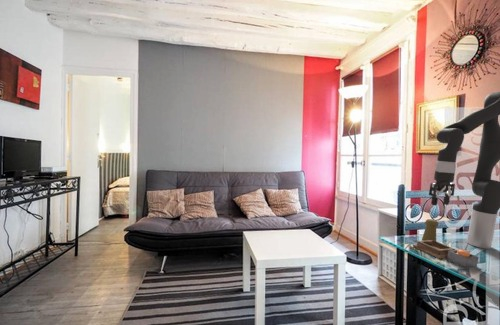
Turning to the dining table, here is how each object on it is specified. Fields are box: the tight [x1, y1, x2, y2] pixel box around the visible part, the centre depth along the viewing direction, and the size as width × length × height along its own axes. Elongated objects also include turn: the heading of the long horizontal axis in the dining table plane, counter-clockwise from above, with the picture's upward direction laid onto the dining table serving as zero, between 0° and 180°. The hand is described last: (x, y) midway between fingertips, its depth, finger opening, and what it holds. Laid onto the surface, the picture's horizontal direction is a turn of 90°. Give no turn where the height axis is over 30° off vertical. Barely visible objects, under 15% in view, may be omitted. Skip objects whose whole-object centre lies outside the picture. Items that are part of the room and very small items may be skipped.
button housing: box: [446, 249, 479, 269], centre depth 107 cm, size 7×7×4 cm
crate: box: [412, 240, 456, 259], centre depth 117 cm, size 12×12×3 cm
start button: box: [456, 248, 471, 257], centre depth 107 cm, size 4×4×3 cm
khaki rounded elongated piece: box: [421, 218, 439, 242], centre depth 130 cm, size 6×6×11 cm
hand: (439, 204), depth 125 cm, fingers open, 8 cm apart
